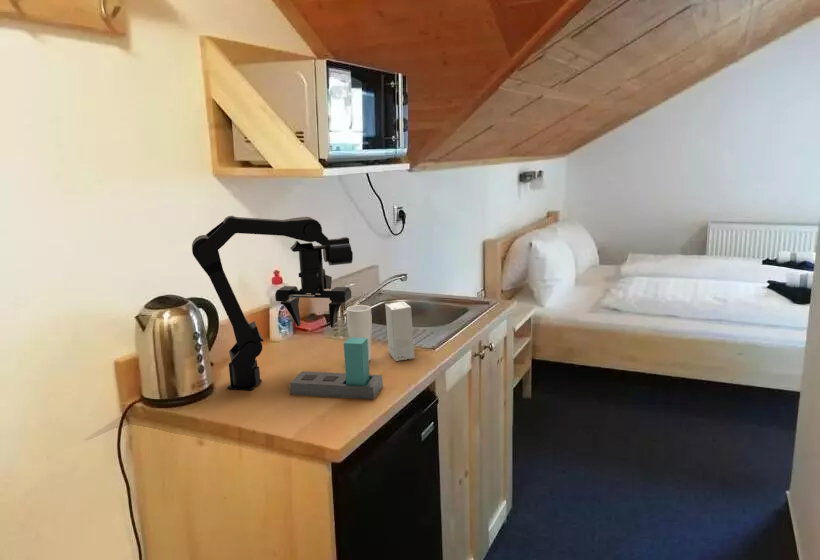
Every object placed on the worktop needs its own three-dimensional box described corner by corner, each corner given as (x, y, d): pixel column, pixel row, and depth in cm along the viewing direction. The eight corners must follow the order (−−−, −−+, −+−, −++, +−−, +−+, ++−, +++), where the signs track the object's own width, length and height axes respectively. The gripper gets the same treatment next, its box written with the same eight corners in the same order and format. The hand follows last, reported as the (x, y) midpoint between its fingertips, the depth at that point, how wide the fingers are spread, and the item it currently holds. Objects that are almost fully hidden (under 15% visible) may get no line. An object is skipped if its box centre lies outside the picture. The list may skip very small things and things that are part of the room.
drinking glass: (372, 355, 181) (369, 304, 178) (375, 363, 174) (372, 310, 171) (348, 357, 180) (345, 305, 177) (350, 365, 173) (347, 312, 170)
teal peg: (346, 394, 153) (343, 343, 150) (352, 387, 157) (349, 337, 155) (364, 395, 152) (362, 343, 149) (370, 388, 156) (367, 338, 154)
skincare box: (415, 359, 176) (413, 307, 173) (393, 361, 175) (391, 309, 172) (407, 350, 184) (405, 300, 181) (386, 352, 183) (384, 302, 180)
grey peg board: (290, 394, 155) (289, 382, 154) (302, 382, 162) (302, 370, 162) (373, 399, 150) (373, 386, 149) (382, 386, 157) (382, 374, 157)
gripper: (356, 261, 167) (359, 319, 170) (289, 261, 171) (294, 317, 174) (342, 270, 156) (346, 331, 160) (271, 269, 161) (276, 329, 164)
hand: (315, 326), depth 165 cm, fingers open, 9 cm apart
